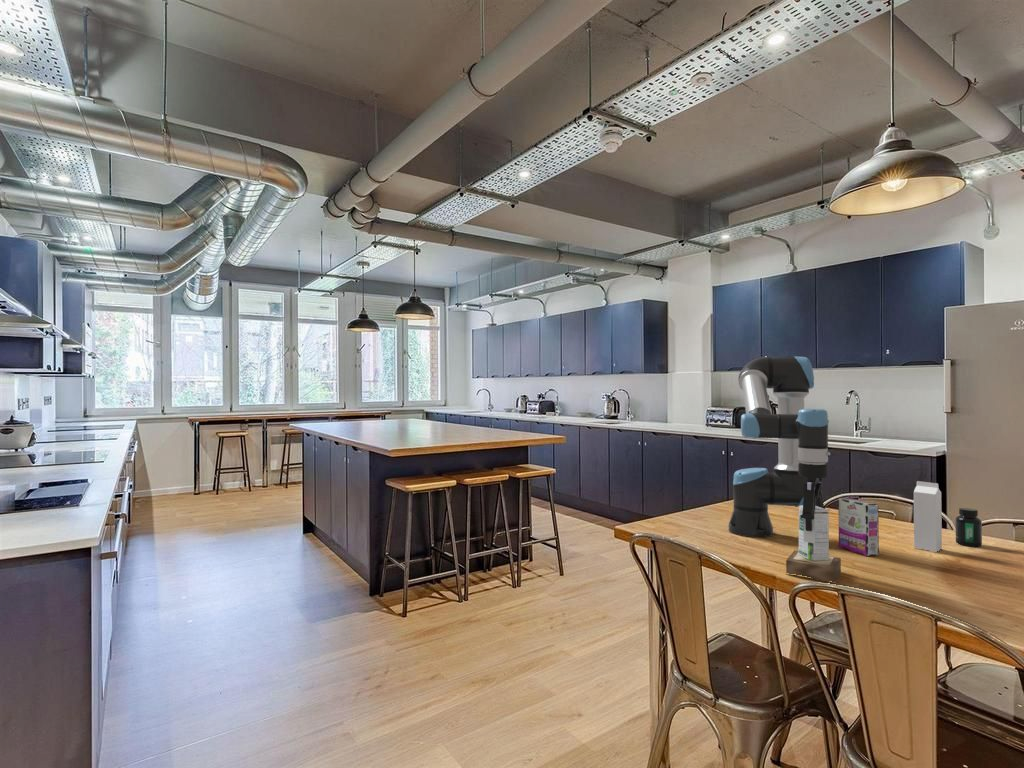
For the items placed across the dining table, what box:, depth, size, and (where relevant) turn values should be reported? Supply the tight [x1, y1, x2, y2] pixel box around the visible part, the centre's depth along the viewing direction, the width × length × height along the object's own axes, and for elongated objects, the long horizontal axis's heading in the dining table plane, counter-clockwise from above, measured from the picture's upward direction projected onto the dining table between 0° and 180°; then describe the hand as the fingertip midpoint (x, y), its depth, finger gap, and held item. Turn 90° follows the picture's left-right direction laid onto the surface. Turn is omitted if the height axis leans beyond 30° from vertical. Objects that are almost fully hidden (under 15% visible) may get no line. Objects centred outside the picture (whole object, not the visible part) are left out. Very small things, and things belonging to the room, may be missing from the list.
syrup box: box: [798, 505, 830, 561], centre depth 155 cm, size 6×6×14 cm
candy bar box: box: [838, 497, 880, 557], centre depth 176 cm, size 11×5×16 cm, turn 14°
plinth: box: [785, 550, 842, 582], centre depth 155 cm, size 12×12×4 cm
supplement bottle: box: [955, 507, 983, 548], centre depth 184 cm, size 7×7×12 cm
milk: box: [913, 480, 943, 553], centre depth 179 cm, size 6×6×22 cm
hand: (813, 537), depth 155 cm, fingers open, 13 cm apart
